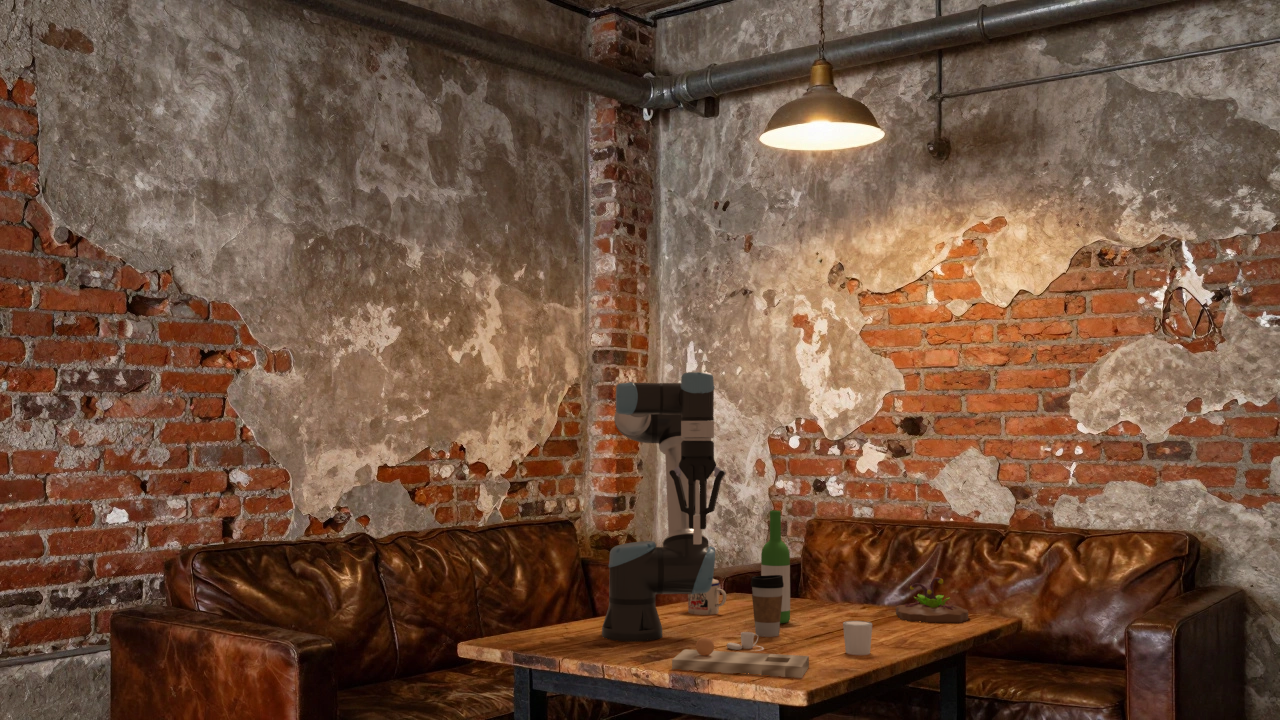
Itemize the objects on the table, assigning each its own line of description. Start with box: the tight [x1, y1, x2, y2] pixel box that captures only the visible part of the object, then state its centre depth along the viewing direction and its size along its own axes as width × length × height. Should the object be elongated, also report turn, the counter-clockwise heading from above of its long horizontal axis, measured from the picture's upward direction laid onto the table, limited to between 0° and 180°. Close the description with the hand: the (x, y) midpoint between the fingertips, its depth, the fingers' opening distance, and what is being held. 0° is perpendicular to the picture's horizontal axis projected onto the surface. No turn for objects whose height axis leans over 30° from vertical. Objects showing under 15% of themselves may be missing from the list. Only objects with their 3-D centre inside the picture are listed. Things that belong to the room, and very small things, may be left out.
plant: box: [895, 576, 969, 624], centre depth 324 cm, size 20×20×11 cm
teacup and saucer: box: [726, 631, 765, 652], centre depth 275 cm, size 9×8×4 cm
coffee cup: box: [750, 575, 784, 638], centre depth 294 cm, size 8×8×15 cm
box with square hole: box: [671, 648, 810, 679], centre depth 252 cm, size 28×12×2 cm, turn 75°
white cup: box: [842, 620, 873, 656], centre depth 271 cm, size 7×7×7 cm
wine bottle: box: [760, 509, 791, 624], centre depth 315 cm, size 8×8×30 cm
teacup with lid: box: [687, 578, 727, 616], centre depth 328 cm, size 12×9×12 cm
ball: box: [695, 636, 715, 656], centre depth 254 cm, size 4×4×4 cm
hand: (697, 543), depth 263 cm, fingers closed
